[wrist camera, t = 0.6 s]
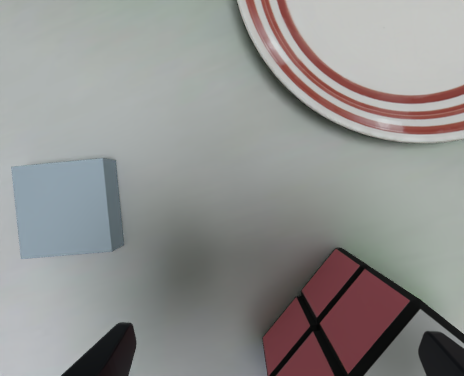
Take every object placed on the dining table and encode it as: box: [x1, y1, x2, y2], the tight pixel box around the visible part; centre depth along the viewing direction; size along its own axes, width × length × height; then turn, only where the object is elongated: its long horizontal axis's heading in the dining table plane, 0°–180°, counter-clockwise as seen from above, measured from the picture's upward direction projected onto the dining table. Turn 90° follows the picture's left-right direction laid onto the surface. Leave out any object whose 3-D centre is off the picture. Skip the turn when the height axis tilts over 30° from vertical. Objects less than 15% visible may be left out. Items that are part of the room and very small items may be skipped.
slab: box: [11, 158, 124, 259], centre depth 21 cm, size 7×7×2 cm
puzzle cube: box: [263, 248, 464, 376], centre depth 17 cm, size 10×10×10 cm
